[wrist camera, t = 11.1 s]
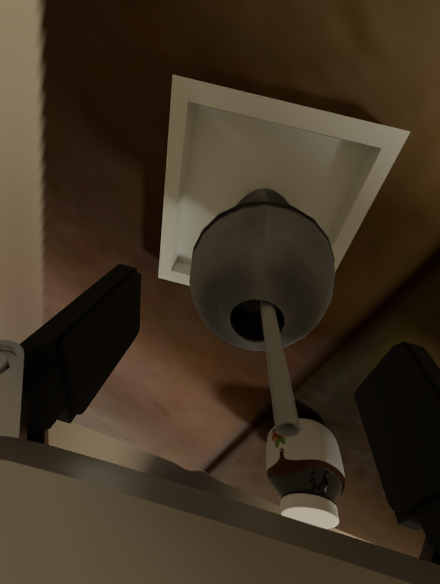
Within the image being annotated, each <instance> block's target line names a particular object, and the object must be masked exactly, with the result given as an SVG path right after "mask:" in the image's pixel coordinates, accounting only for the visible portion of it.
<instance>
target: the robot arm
mask: <svg viewBox="0 0 440 584" xmlns="http://www.w3.org/2000/svg"><path fill="white" fill-rule="evenodd" d="M140 295H141V274H140V273H137V270H136V268H134V267H130V266H126V265H123V264H119V265H117V266H116V267H115V268H113V269H112V270H111V271H110V272H108V273H107V274H106V275H105V276H104V277H102V278H101V279H100V280H99V281H97V282H96V283H95V284H94V285H92V286H91V287H90V288H89V289H87V290H86V291H85V292H84V293H83V294H81V295H80V296H79V297H78V298H76V299H75V300H74V301H73V302H71V303H70V304H69V305H68V306H66V307H65V308H64V309H63V310H61V311H60V312H59V313H58V314H57V315H55V316H54V317H53V318H52V319H50V320H49V321H48V322H47V323H45V324H44V325H43V326H42V327H40V328H39V329H38V330H37V331H36V332H34V333H33V334H32V335H31V336H29V337H28V338H27V339H26V340H24V341H23V342H22V343H21V344H18V343H16V342H13V341H9V340H0V584H440V369H439V367H438V366H437V364H436V363H435V362H434V360H433V359H432V358H431V356H430V355H429V353H428V352H427V351H426V349H424V348H423V347H421V346H418V345H414V344H410V343H407V342H402V343H399V344H396V345H394V346H393V347H392V348H391V349H390V350H389V352H388V353H387V354H386V355H385V356H384V358H383V359H382V360H381V361H380V362H379V363H378V365H377V366H376V367H375V368H374V369H373V371H372V372H371V373H370V374H369V375H368V376H367V378H366V379H365V380H364V381H363V382H362V384H361V385H360V386H359V387H358V388H357V390H356V392H355V400H356V403H357V407H358V410H359V413H360V416H361V419H362V422H363V425H364V429H365V432H366V435H367V438H368V441H369V444H370V447H371V451H372V454H373V457H374V460H375V463H376V466H377V469H378V473H379V476H380V479H381V482H382V485H383V488H384V492H385V495H386V498H387V501H388V503H389V505H390V507H391V508H392V509H393V510H394V512H395V515H396V518H397V521H398V524H399V525H402V526H406V527H409V528H412V529H415V530H419V529H421V528H423V530H424V532H425V535H426V538H425V541H424V545H423V548H422V551H421V555H420V558H416V557H412V556H409V555H406V554H403V553H400V552H397V551H394V550H390V549H387V548H384V547H381V546H378V545H375V544H371V543H368V542H365V541H362V540H359V539H356V538H352V537H349V536H346V535H343V534H340V533H336V532H333V531H330V530H327V529H324V528H321V527H317V526H314V525H311V524H308V523H305V522H301V521H298V520H295V519H292V518H289V517H285V516H282V515H279V514H276V513H272V512H269V511H266V510H263V509H260V508H256V507H253V506H250V505H247V504H244V503H240V502H237V501H234V500H231V499H228V498H224V497H221V496H218V495H215V494H211V493H208V492H205V491H202V490H198V489H195V488H192V487H189V486H185V485H182V484H179V483H175V482H172V481H169V480H166V479H162V478H159V477H156V476H153V475H149V474H146V473H143V472H139V471H136V470H133V469H130V468H126V467H123V466H120V465H116V464H113V463H109V462H106V461H103V460H99V459H96V458H92V457H89V456H85V455H82V454H78V453H75V452H71V451H68V450H64V449H60V448H57V447H54V446H50V445H49V444H48V429H50V428H51V427H52V425H53V424H54V423H55V422H56V420H60V421H63V422H67V423H71V422H72V420H73V419H74V418H75V416H76V415H77V414H78V415H81V414H82V413H83V412H84V411H85V410H86V409H87V407H88V406H89V404H90V403H91V401H92V400H93V399H94V397H95V396H96V394H97V393H98V391H99V390H100V388H101V387H102V386H103V384H104V383H105V381H106V380H107V378H108V377H109V375H110V374H111V373H112V371H113V370H114V368H115V367H116V365H117V364H118V362H119V361H120V360H121V358H122V357H123V355H124V354H125V352H126V351H127V349H128V348H129V347H130V345H131V344H132V342H133V341H134V339H135V338H136V336H137V334H138V332H139V328H140Z"/></svg>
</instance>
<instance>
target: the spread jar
mask: <svg viewBox="0 0 440 584" xmlns="http://www.w3.org/2000/svg"><path fill="white" fill-rule="evenodd" d="M297 415H298V419H299V424H300V429H301V430H300V431H299V433H298V434H297V435H295V436H291V437H285V436H281V435H279V434H278V433H277V431H276V430H275V423H274V425H273V426H272V427H271V429H270V431H269V433H268V437H267V447H266V464H267V474H268V479H269V481H270V483H271V485H272V487H273V489H274V490H275V492H276V493H277V494H278V496H279V497H280V498H281V515H282V516H285V517H289V518H292V519H295V520H298V521H301V522H305V523H308V524H311V525H314V526H317V527H321V528H324V529H330V528H333V527H336V526H337V525H338V524H339V518H338V513H337V507H336V505H335V504H336V503H337V502H338V500H339V499H340V497H341V495H342V493H343V491H344V487H345V475H344V469H343V464H342V460H341V455H340V451H339V447H338V444H337V442H336V439H335V437H334V435H333V434H332V432H331V431H330V430H329V429H328V427H327V426H326V425H325V424H323V423H322V422H321V421H319V420H318V419H316V418H314V417H312V416H310V415H306V414H299V413H297Z"/></svg>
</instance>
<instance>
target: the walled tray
mask: <svg viewBox="0 0 440 584" xmlns="http://www.w3.org/2000/svg"><path fill="white" fill-rule="evenodd" d="M409 134H410V131H405V130H401V129H397V128H393V127H389V126H385V125H381V124H376V123H372V122H368V121H364V120H360V119H356V118H352V117H347V116H343V115H339V114H335V113H331V112H327V111H322V110H318V109H314V108H310V107H306V106H302V105H298V104H293V103H289V102H285V101H281V100H277V99H273V98H268V97H264V96H260V95H256V94H252V93H248V92H244V91H239V90H235V89H231V88H227V87H223V86H219V85H215V84H210V83H206V82H202V81H198V80H194V79H190V78H185V77H181V76H177V75H173V76H172V90H171V104H170V118H169V133H168V147H167V161H166V175H165V190H164V204H163V218H162V232H161V246H160V261H159V275H158V278H162V279H165V280H169V281H173V282H177V283H181V284H185V285H188V286H190V284H189V280H190V271H191V262H192V254H193V248H194V246H195V244H196V242H197V240H198V238H199V236H200V234H201V232H202V230H203V229H204V228H205V227H206V226H207V225H208V224H209V223H210V222H211V221H212V220H213V219H214V218H215V217H216V216H217V215H218V214H220V213H222V212H224V211H226V210H228V209H230V208H233V207H235V206H236V205H237V203H238V202H239V201H240V200H241V199H242V198H243V197H245V196H246V195H247V194H249V193H250V192H252V191H254V190H256V189H263V188H266V189H271V190H274V191H276V192H277V193H279V194H280V195H282V196H283V197H284V198H285V199H286V200H287V202H288V203H289V204H290V205H291V206H294V207H295V208H297V209H299V210H300V211H302V212H303V213H305V214H307V215H308V216H310V217H312V218H313V219H314V220H315V221H316V222H317V223H318V225H319V226H320V227H321V229H322V230H323V231H324V232H325V234H326V235H327V236H328V238H329V241H330V244H331V248H332V252H333V255H334V259H335V260H334V268H335V272H336V270H337V268H338V266H339V264H340V262H341V261H342V259H343V257H344V255H345V253H346V251H347V249H348V247H349V246H350V244H351V242H352V240H353V238H354V236H355V234H356V233H357V231H358V229H359V227H360V225H361V223H362V221H363V219H364V218H365V216H366V214H367V212H368V210H369V208H370V206H371V205H372V203H373V201H374V199H375V197H376V195H377V193H378V191H379V190H380V188H381V186H382V184H383V182H384V180H385V178H386V177H387V175H388V173H389V171H390V169H391V167H392V165H393V163H394V162H395V160H396V158H397V156H398V154H399V152H400V150H401V149H402V147H403V145H404V143H405V141H406V139H407V137H408V135H409Z"/></svg>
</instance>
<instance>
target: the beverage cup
mask: <svg viewBox="0 0 440 584" xmlns="http://www.w3.org/2000/svg"><path fill="white" fill-rule="evenodd" d="M334 260H335V259H334V255H333V252H332V248H331V244H330V241H329V238H328V236H327V235H326V234H325V232H324V231H323V230H322V229H321V227H320V226H319V225H318V223H317V222H316V221H315V220H314V219H313V218H312V217H310V216H308V215H307V214H305V213H303V212H302V211H300V210H299V209H297V208H295V207H294V206H291V205H290V204H289V203H288V202H287V200H286V199H285V198H284V197H283V196H282V195H280V194H279V193H277V192H276V191H274V190H271V189H266V188H263V189H256V190H254V191H252V192H250V193H249V194H247V195H246V196H245V197H243V198H242V199H241V200H240V201H239V202H238V203H237V205H236V206H235V207H233V208H230V209H228V210H226V211H224V212H222V213H220V214H218V215H217V216H216V217H215V218H214V219H213V220H212V221H211V222H210V223H209V224H208V225H207V226H206V227H205V228H204V229H203V230H202V232H201V234H200V236H199V238H198V240H197V242H196V244H195V246H194V248H193V254H192V262H191V271H190V280H189V284H190V289H191V293H192V297H193V302H194V306H195V308H196V310H197V312H198V313H199V315H200V316H201V318H202V320H203V321H204V323H205V324H206V326H207V327H208V328H209V329H211V330H212V331H213V332H214V333H215V334H216V335H217V336H219V337H220V338H221V339H222V340H224V341H226V342H228V343H230V344H232V345H234V346H236V347H239V348H243V349H248V350H252V351H266V357H267V365H268V373H269V382H270V390H271V398H272V406H273V415H274V423H275V430H276V431H277V433H278V434H279V435H281V436H285V437H291V436H295V435H297V434H298V433H299V431H300V430H301V429H300V424H299V419H298V415H297V410H296V405H295V401H294V396H293V391H292V387H291V382H290V377H289V373H288V368H287V363H286V359H285V354H284V349H283V348H284V347H287V346H289V345H291V344H293V343H295V342H297V341H299V340H300V339H302V338H304V337H305V336H306V335H307V334H308V333H309V332H310V331H311V330H313V329H314V328H315V327H316V326H317V325H318V324H319V322H320V321H321V320H322V318H323V316H324V314H325V312H326V310H327V308H328V306H329V304H330V302H331V299H332V296H333V287H334V278H335V268H334Z"/></svg>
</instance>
